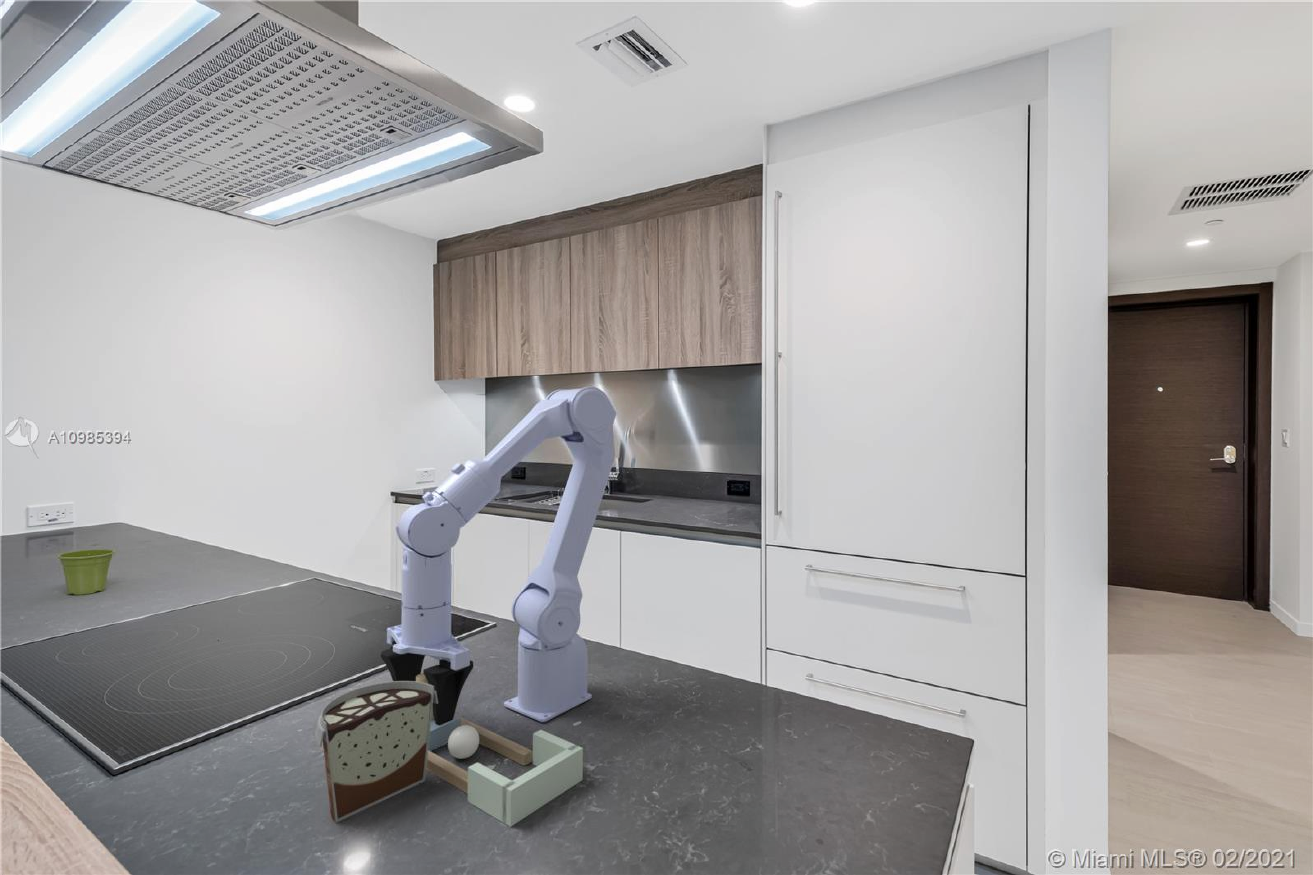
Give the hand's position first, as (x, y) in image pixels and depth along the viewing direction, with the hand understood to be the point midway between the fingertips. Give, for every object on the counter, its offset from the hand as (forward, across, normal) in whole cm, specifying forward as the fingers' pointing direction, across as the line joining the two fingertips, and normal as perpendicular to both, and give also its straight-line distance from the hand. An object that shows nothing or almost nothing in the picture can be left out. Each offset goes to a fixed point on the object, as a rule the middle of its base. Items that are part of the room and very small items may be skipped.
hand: (425, 712), depth 76 cm
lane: (+3, +6, 0) cm, 6 cm away
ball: (+1, +8, 0) cm, 8 cm away
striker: (+3, 0, 0) cm, 3 cm away
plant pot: (+3, -116, -9) cm, 116 cm away
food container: (+3, +5, -10) cm, 12 cm away
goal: (+3, +18, 0) cm, 18 cm away
